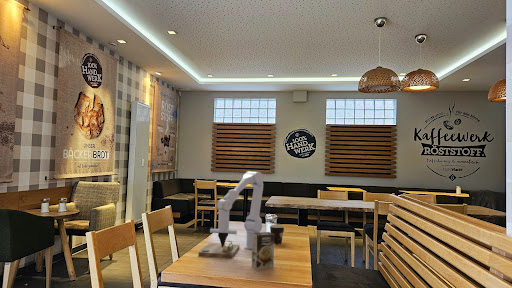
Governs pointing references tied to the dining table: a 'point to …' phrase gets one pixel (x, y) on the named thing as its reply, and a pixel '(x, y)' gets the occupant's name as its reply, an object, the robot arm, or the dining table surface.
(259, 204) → the robot arm
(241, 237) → the dining table surface
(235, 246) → the wooden serving board
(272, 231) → the coffee mug
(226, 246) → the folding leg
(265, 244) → the coffee box
